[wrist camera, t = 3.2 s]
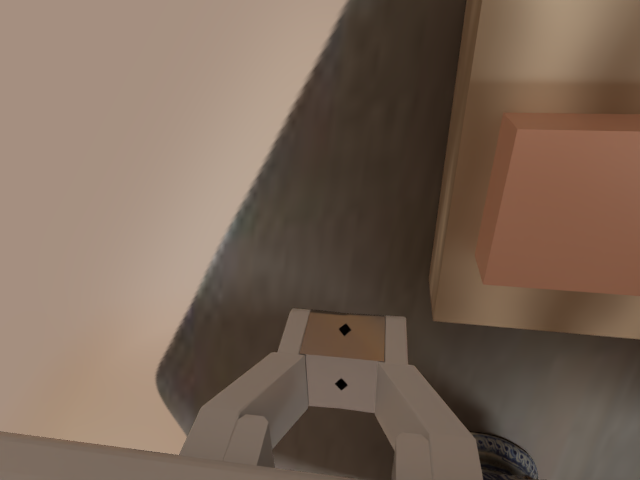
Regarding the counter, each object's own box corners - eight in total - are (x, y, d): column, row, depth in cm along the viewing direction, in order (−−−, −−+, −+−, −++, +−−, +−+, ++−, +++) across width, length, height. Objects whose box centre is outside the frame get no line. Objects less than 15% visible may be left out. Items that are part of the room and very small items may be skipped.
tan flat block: (812, -25, 16) (921, -29, 13) (653, 295, 24) (694, 344, 21) (468, -15, 18) (484, -16, 15) (428, 278, 26) (433, 321, 23)
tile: (754, 115, 16) (808, 134, 14) (676, 268, 19) (709, 301, 17) (503, 112, 17) (517, 129, 15) (474, 255, 21) (482, 284, 18)
